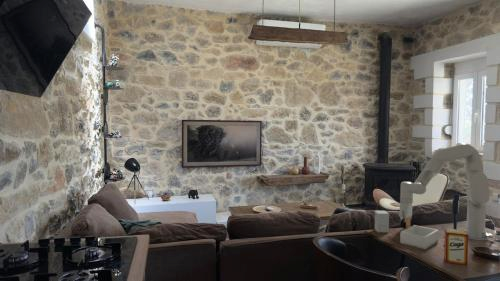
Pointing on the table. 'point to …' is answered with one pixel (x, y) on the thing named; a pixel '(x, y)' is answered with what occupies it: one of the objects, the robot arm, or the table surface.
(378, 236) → the table surface
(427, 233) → the tote
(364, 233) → the table surface
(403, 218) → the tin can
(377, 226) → the supplement box
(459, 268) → the table surface
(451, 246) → the baking soda box
